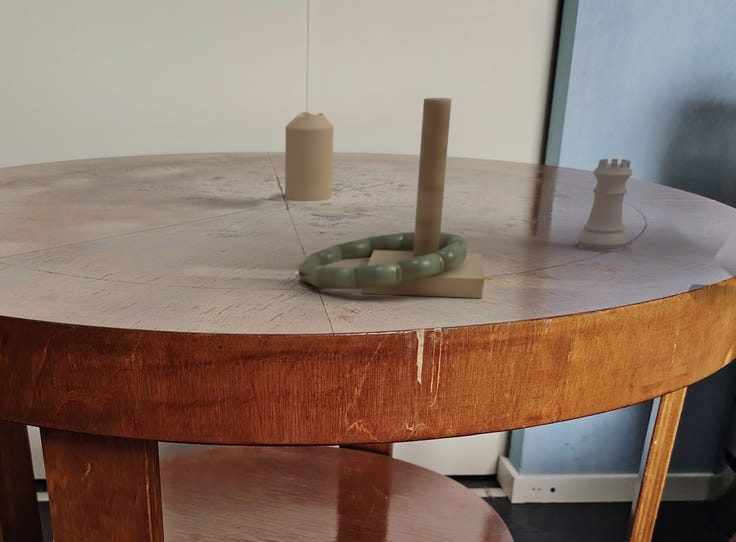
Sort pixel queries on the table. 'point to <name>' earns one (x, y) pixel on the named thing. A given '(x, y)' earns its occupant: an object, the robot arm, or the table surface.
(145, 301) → the table surface
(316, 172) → the candle
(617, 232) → the rook chess piece
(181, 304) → the table surface
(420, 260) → the hoop
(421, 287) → the post
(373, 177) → the table surface
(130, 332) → the table surface
